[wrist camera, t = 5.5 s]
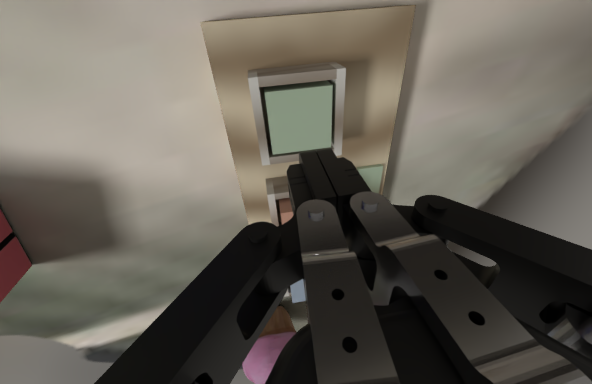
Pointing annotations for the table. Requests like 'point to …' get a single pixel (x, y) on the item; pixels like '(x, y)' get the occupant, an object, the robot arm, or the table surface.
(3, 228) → the puzzle cube
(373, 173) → the button panel
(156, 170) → the table surface
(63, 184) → the table surface
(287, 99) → the sage button
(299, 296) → the slate button
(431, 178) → the table surface
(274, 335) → the cupcake
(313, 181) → the robot arm
